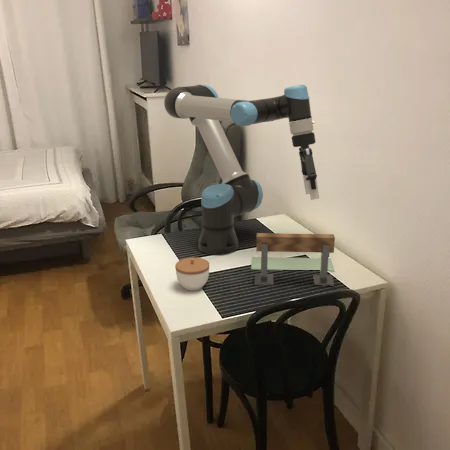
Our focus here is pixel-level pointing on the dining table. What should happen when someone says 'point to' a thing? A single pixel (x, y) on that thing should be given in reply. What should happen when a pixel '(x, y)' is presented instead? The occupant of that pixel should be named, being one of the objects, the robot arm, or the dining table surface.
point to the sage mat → (290, 263)
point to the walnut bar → (295, 242)
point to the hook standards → (318, 279)
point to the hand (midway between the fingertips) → (312, 196)
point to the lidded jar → (192, 273)
